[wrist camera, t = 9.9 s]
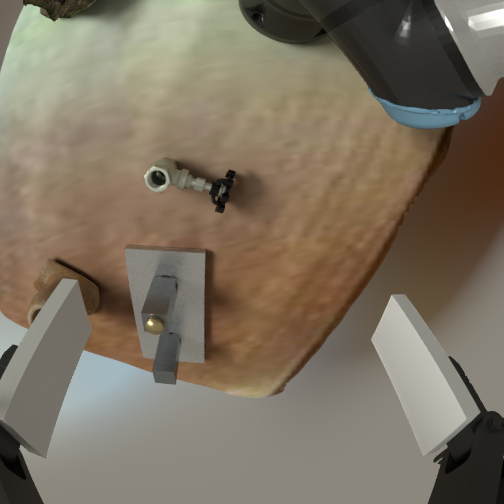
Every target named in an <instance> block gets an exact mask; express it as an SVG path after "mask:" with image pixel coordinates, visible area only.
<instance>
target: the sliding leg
mask: <svg viewBox="0 0 504 504" xmlns="http://www.w3.org/2000/svg"><path fill="white" fill-rule="evenodd" d="M176 298H177V290H176V278H169V277H153V280H152V283H151V285H150V288H149V291H148V294H147V297H146V300H145V302H144V305H143V308H142V311H141V316H142V322H143V327H144V332H149V333H150V334H153V335H159V334H161V333H162V334H169V331H170V326H171V321H172V317H173V312H174V307H175V302H176Z"/></svg>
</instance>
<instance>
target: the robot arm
mask: <svg viewBox="0 0 504 504" xmlns="http://www.w3.org/2000/svg"><path fill="white" fill-rule="evenodd" d="M239 6H240V10H241V12H242V14H243V16H244V18H245V19H246V20H247V22H248V23H249V24H250V25H251V26H252V27H253V28H254V29H256V30H257V31H258V32H260V33H261V34H263V35H265V36H267V37H269V38H271V39H274V40H277V41H281V42H285V43H307V42H311V41H315V40H317V39H319V38H321V37H323V36H325V35H326V34H328V35H329V36H330V38H331V39H332V40H333V41H334V42H335V43H336V45H337V46H338V47H339V48H340V49H341V51H342V52H343V53H344V54H345V56H346V57H347V58H348V59H349V61H350V62H351V63H352V65H353V66H354V67H355V69H356V70H357V71H358V73H359V74H360V75H361V77H362V78H363V80H364V81H365V82H366V84H367V85H368V89H369V91H370V93H371V94H372V95H373V96H374V97H375V98H376V99H377V100H378V101H379V102H380V104H381V105H382V107H383V108H384V110H385V111H386V112H387V114H388V115H389V116H390V117H391V118H392V119H394V120H395V121H396V122H398V123H400V124H402V125H404V126H407V127H412V128H418V129H436V128H444V127H449V126H452V125H455V124H458V123H459V120H461V119H463V120H467V119H469V118H471V117H472V116H473V115H474V114H475V113H476V112H477V111H478V109H479V107H480V104H481V97H483V96H489V95H491V94H492V92H493V90H494V88H495V85H496V83H497V81H498V80H499V78H501V77H504V0H239ZM373 6H374V7H373ZM371 7H372V8H371ZM369 8H370V9H369ZM367 9H368V10H367ZM365 10H366V11H365ZM358 14H359V15H358ZM356 15H357V16H356ZM354 16H355V17H354ZM351 18H352V19H351ZM349 19H350V20H349ZM347 20H348V21H347ZM344 22H345V23H344ZM342 23H343V24H342ZM339 25H340V26H339ZM337 26H338V27H337ZM334 28H335V29H334ZM91 331H92V328H91V325H90V322H89V318H88V315H87V312H86V308H85V305H84V302H83V298H82V294H81V291H80V287H79V283H78V280H74V279H65V278H63V279H62V280H61V281H60V283H59V284H58V286H57V287H56V288H55V290H54V291H53V293H52V294H51V296H50V297H49V299H48V300H47V301H46V303H45V304H44V306H43V307H42V309H41V310H40V312H39V313H38V315H37V317H36V318H35V320H34V321H33V323H32V324H31V326H30V328H29V329H28V331H27V333H26V334H25V336H24V338H23V339H22V341H21V343H20V345H19V346H17V345H12V346H11V347H10V348H9V349H8V350H7V351H5V352H4V354H3V355H2V357H1V359H0V504H44V503H43V501H42V499H41V497H40V495H39V493H38V491H37V489H36V487H35V484H34V482H33V480H32V478H31V475H30V473H29V470H28V468H27V465H26V463H25V460H24V458H23V455H22V453H21V451H20V450H19V448H20V445H22V446H23V447H24V448H26V449H27V450H28V451H29V452H32V453H34V454H36V455H39V456H41V457H44V458H46V454H47V451H48V447H49V444H50V440H51V436H52V433H53V430H54V427H55V424H56V421H57V418H58V414H59V412H60V409H61V406H62V403H63V400H64V397H65V395H66V392H67V389H68V387H69V384H70V381H71V379H72V376H73V374H74V371H75V369H76V366H77V364H78V361H79V359H80V356H81V354H82V351H83V349H84V347H85V345H86V342H87V340H88V338H89V336H90V333H91ZM371 340H372V342H373V344H374V346H375V348H376V351H377V353H378V355H379V357H380V359H381V361H382V363H383V365H384V367H385V369H386V371H387V374H388V376H389V378H390V380H391V382H392V384H393V387H394V389H395V391H396V393H397V395H398V398H399V400H400V402H401V404H402V407H403V409H404V411H405V414H406V416H407V418H408V421H409V423H410V425H411V428H412V430H413V433H414V435H415V437H416V440H417V442H418V445H419V447H420V450H421V453H422V455H423V456H426V455H428V454H430V453H433V452H436V451H437V450H439V449H440V448H441V447H443V446H444V445H445V444H447V446H448V448H447V449H445V450H444V451H443V452H441V453H440V454H439V455H438V456H436V457H435V459H434V461H433V462H436V461H438V460H439V459H440V458H442V457H443V458H442V460H440V461H439V463H438V464H441V465H440V469H439V472H438V475H437V479H436V482H435V485H434V488H433V491H432V493H431V496H430V499H429V502H428V504H504V458H503V456H504V418H502V417H501V415H500V414H498V413H497V412H495V411H489V412H488V411H487V410H486V409H485V407H484V405H483V403H482V402H481V400H480V398H479V396H478V395H477V393H476V391H475V390H474V388H473V386H472V384H471V383H469V379H468V378H467V376H465V373H464V371H463V370H462V368H461V367H460V365H459V364H458V363H457V362H456V361H455V360H454V359H453V358H452V357H450V356H449V357H448V356H447V355H446V353H445V352H444V350H443V349H442V347H441V346H440V344H439V342H438V341H437V339H436V338H435V336H434V335H433V333H432V332H431V330H430V329H429V327H428V326H427V325H426V323H425V322H424V320H423V319H422V317H421V316H420V315H419V313H418V312H417V310H416V309H415V308H414V306H413V305H412V303H411V302H410V301H409V299H408V298H407V297H406V295H392V296H391V298H390V300H389V302H388V305H387V307H386V309H385V311H384V314H383V316H382V318H381V320H380V322H379V325H378V327H377V329H376V331H375V333H374V335H373V337H372V339H371Z"/></svg>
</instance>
